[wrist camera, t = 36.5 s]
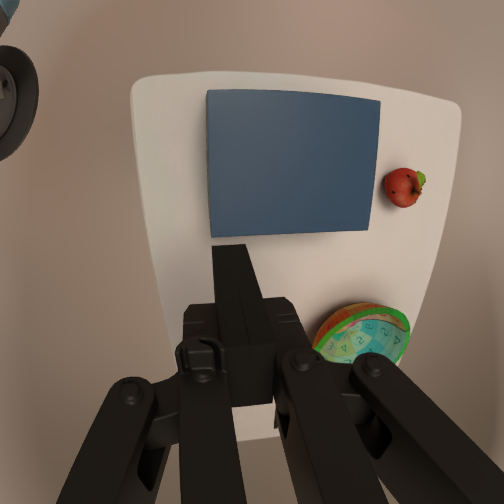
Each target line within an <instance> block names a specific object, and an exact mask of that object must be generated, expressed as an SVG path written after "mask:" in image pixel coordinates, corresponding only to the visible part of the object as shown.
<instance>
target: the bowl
mask: <svg viewBox="0 0 504 504" xmlns="http://www.w3.org/2000/svg"><path fill="white" fill-rule="evenodd" d="M409 338H410V325H409V322H408V319H407V318H406V316H405V315H404V314H403V313H401V312H400V311H398V310H396V309H393V308H389V307H387V306H381V305H378V304H373V303H357V304H353V305H349V306H346V307H344V308H342V309H340V310H338V311H336V312H335V313H334V314H332V315H331V316H330V317H329V318H328V319H327V320H326V321H325V322H324V323H323V324H322V326H321V327H320V329H319V330H318V332H317V334H316V336H315V339H314V342H313V345H312V348H313V349H314V350H316V351H318V352H319V353H321V354H322V356H323V357H324V358H325V360H328V361H332V362H338V363H353V361H354V359H355V358H356V357H357V356H358V355H360V354H362V353H367V352H375V353H379V354H382V355H384V356H386V357H387V358H389V359H390V360H391V361H392V362H393V363H394V364H395V363H396V362H397V361H398V360H399V359H400V357H401V356H402V354H403V353H404V351H405V349H406V347H407V344H408V342H409Z"/></svg>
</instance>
